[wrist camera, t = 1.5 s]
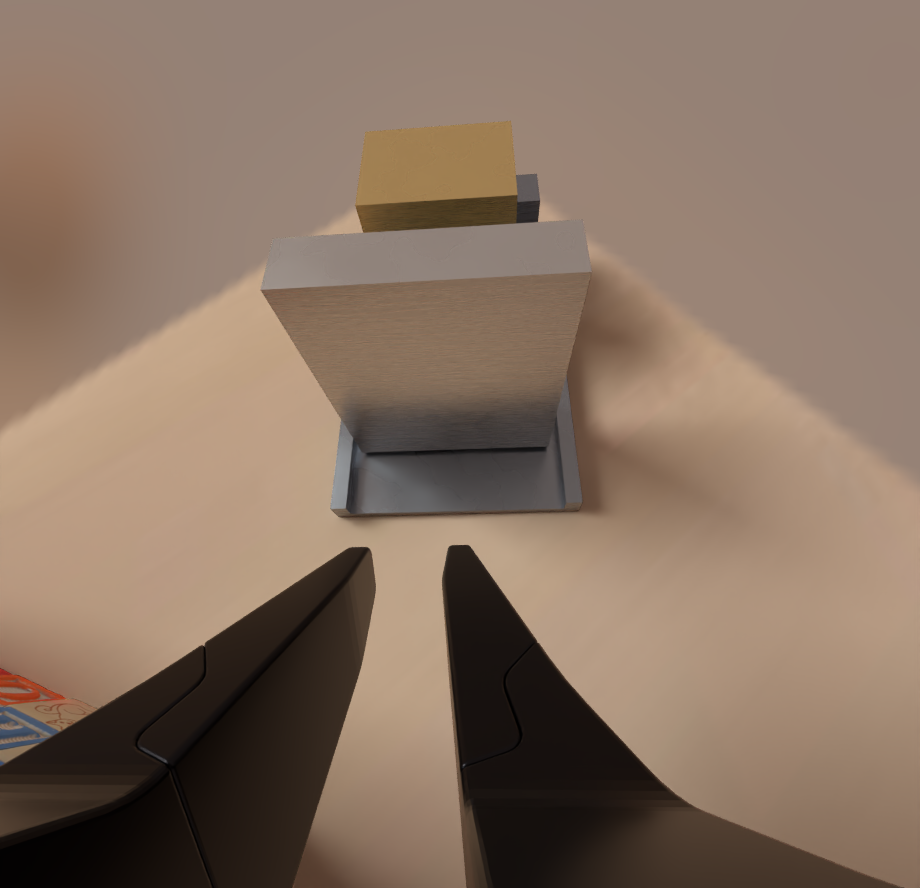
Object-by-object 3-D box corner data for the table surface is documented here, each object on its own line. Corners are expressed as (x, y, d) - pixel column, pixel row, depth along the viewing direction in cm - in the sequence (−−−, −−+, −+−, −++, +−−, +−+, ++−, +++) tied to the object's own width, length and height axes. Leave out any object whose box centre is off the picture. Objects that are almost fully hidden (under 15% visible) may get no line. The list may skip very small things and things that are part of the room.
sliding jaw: (548, 446, 22) (592, 271, 12) (361, 452, 22) (260, 289, 13) (545, 409, 23) (583, 219, 13) (365, 416, 23) (272, 238, 14)
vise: (578, 510, 21) (603, 464, 16) (338, 516, 22) (293, 474, 17) (547, 255, 28) (558, 169, 23) (366, 265, 29) (340, 184, 24)
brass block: (510, 348, 25) (517, 194, 17) (400, 352, 25) (355, 205, 17) (506, 285, 27) (510, 120, 19) (403, 290, 27) (365, 131, 19)
